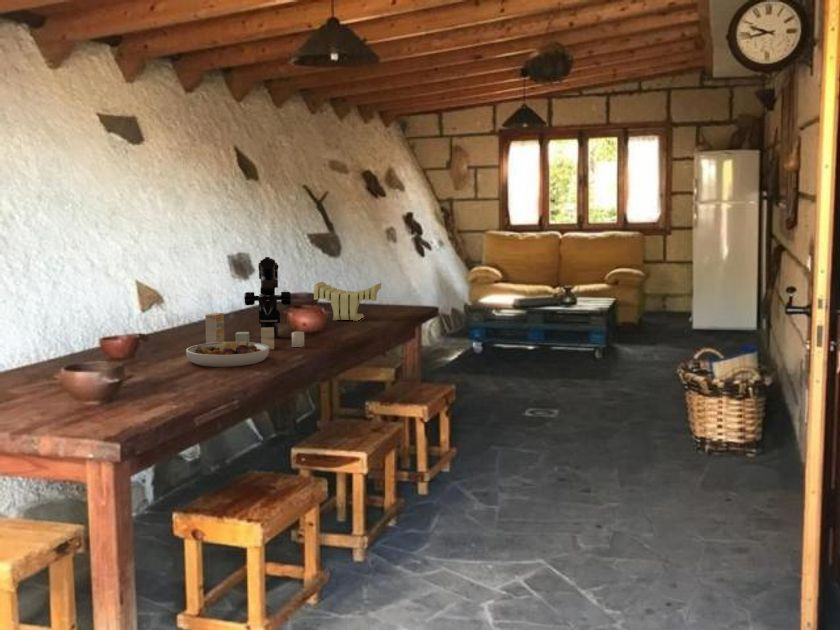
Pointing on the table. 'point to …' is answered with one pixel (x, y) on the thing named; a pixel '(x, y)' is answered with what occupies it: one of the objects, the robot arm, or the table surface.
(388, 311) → the table surface
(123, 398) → the table surface
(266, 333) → the beech block
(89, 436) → the table surface
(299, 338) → the beige square block
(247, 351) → the bowl
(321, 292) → the slatted curved stool
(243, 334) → the sage cube
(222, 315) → the supplement box
